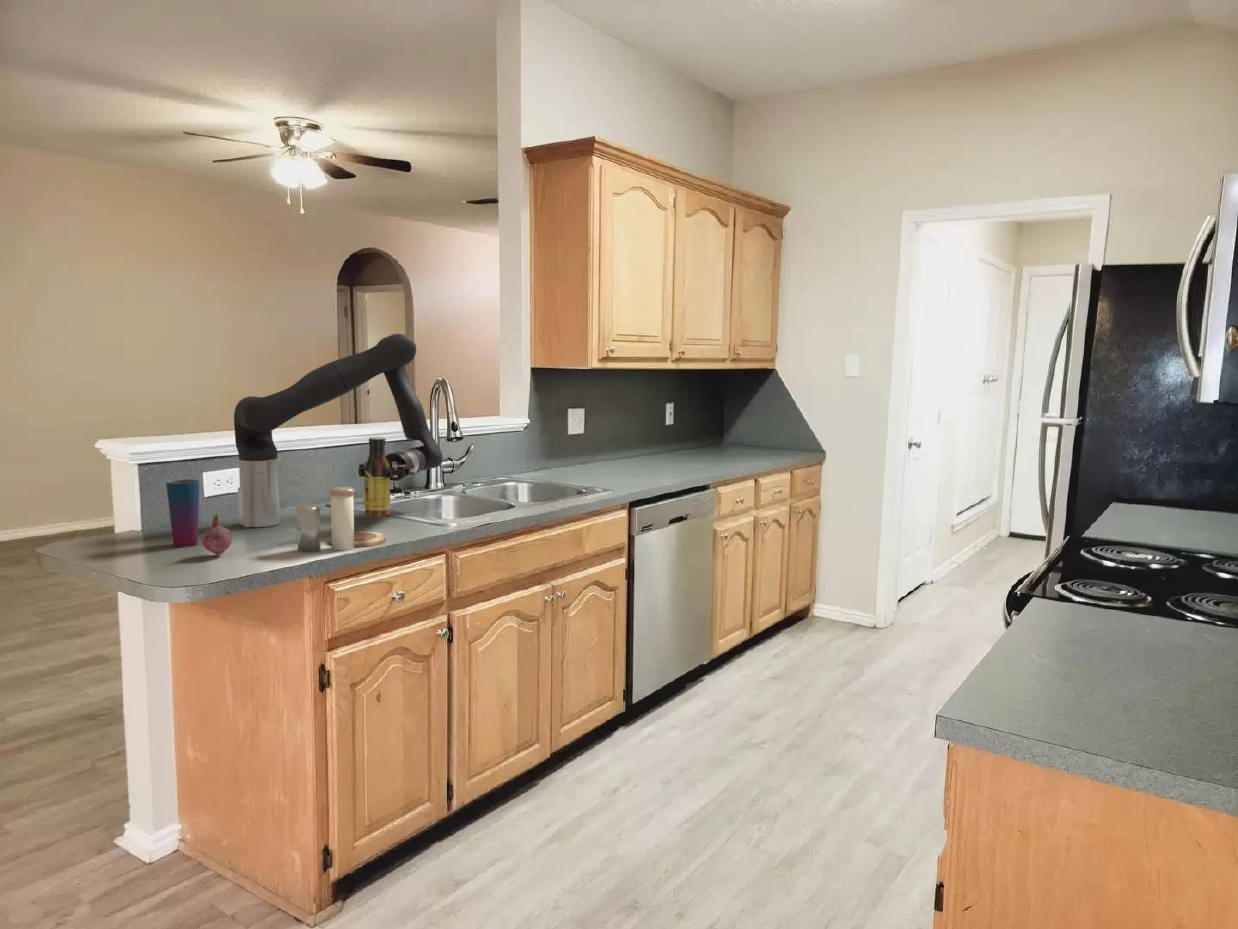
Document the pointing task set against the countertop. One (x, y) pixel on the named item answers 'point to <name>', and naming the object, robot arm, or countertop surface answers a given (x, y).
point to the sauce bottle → (377, 479)
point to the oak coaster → (366, 538)
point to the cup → (184, 510)
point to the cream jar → (342, 518)
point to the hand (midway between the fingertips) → (373, 473)
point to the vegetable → (217, 538)
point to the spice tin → (308, 528)
